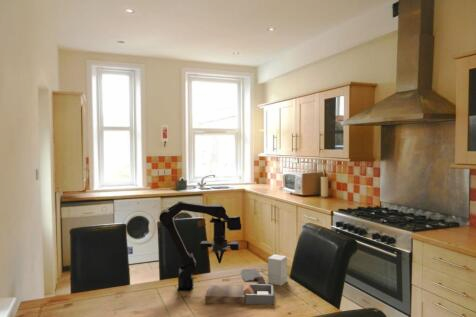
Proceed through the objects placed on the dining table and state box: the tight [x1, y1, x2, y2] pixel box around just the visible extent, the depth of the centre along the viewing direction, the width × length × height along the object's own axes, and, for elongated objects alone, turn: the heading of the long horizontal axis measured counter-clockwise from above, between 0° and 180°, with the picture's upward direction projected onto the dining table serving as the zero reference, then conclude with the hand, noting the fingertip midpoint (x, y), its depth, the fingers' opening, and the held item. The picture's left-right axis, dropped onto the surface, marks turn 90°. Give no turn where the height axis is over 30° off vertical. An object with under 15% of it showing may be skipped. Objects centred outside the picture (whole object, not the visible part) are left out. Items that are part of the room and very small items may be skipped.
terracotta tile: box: [243, 283, 255, 294], centre depth 160 cm, size 5×5×2 cm
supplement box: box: [267, 253, 288, 287], centre depth 178 cm, size 7×7×13 cm
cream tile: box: [256, 291, 269, 294], centre depth 160 cm, size 5×5×2 cm
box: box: [245, 283, 275, 306], centre depth 160 cm, size 12×12×4 cm
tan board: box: [204, 284, 246, 305], centre depth 161 cm, size 17×12×3 cm
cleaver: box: [240, 268, 266, 284], centre depth 181 cm, size 29×10×2 cm, turn 11°
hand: (219, 263), depth 174 cm, fingers closed
